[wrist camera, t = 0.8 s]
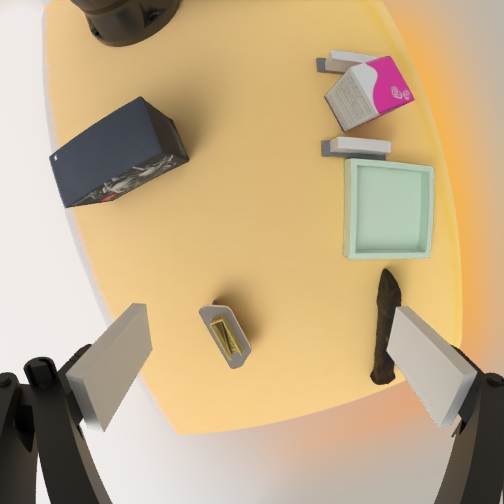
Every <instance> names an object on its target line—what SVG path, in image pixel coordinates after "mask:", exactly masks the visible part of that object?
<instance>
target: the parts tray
mask: <svg viewBox="0 0 504 504" xmlns="http://www.w3.org/2000/svg"><path fill="white" fill-rule="evenodd" d="M433 210H434V167H431V166H423V165H416V164H408V163H399V162H390V161H379V160H368V159H355V158H350V159H347V160H344V234H343V255H344V256H345V257H346V258H348V259H349V260H355V259H406V258H430V252H431V241H432V228H433Z"/></svg>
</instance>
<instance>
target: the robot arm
mask: <svg viewBox="0 0 504 504" xmlns="http://www.w3.org/2000/svg"><path fill="white" fill-rule="evenodd" d="M70 1H72V2H73V3H74V4H75V5H76V6H78V7H79V8H80V9H81V10H82V11H83V12H84V13H85V15H86V18H87V21H88V24H89V27H90V30H91V32H92V34H93V35H94V36H95V37H96V38H97V39H98V40H99V41H100V42H102V43H103V44H105V45H108V46H113V47H121V46H127V45H131V44H134V43H137V42H140V41H142V40H144V39H146V38H148V37H150V36H151V35H153V34H154V33H156V32H157V31H159V30H160V29H161V28H162V27H163V26H165V25H166V24H167V23H168V22H169V20H170V19H171V18H172V17H173V15H174V14H175V12H176V10H177V8H178V5H179V0H70ZM151 351H152V344H151V337H150V331H149V324H148V316H147V308H146V304H137V303H133V304H132V305H131V306H130V307H129V308H128V309H127V310H126V311H125V312H124V313H123V314H122V315H121V316H120V317H119V318H118V319H117V320H116V321H115V322H114V323H113V324H112V325H111V326H110V327H109V328H108V329H107V330H106V331H105V332H104V333H103V334H102V336H100V337H99V338H98V340H97V341H96V342H95V343H94V344H93V345H92V344H87V345H86V346H84V347H82V348H80V349H79V350H78V351H77V352H76V353H75V354H74V356H72V357H71V358H70V359H69V361H67V362H66V363H65V365H63V367H62V368H61V369H60V370H59V371H58V372H57V370H56V367H55V364H54V362H53V360H52V359H50V358H48V357H37V358H34V359H32V360H30V361H28V362H27V363H26V364H25V366H24V372H25V374H26V376H27V379H28V381H29V384H20V383H19V381H18V378H17V377H16V375H15V374H13V373H10V372H6V373H1V374H0V504H36V472H37V458H38V453H39V458H40V463H41V467H42V472H43V477H44V480H45V484H46V488H47V492H48V496H49V499H50V502H51V504H112V502H111V500H110V498H109V496H108V494H107V492H106V490H105V488H104V485H103V483H102V481H101V479H100V476H99V474H98V472H97V469H96V467H95V464H94V462H93V459H92V457H91V454H90V451H89V449H88V446H87V444H86V441H85V438H84V435H83V432H82V429H81V427H80V425H79V423H80V422H81V420H82V419H83V418H84V421H85V423H86V425H87V427H88V428H90V429H94V430H97V431H100V432H105V430H106V428H107V426H108V424H109V423H110V421H111V419H112V417H113V416H114V414H115V412H116V410H117V409H118V407H119V405H120V403H121V401H122V400H123V398H124V396H125V395H126V393H127V391H128V390H129V388H130V386H131V384H132V383H133V381H134V379H135V378H136V376H137V374H138V373H139V371H140V369H141V368H142V366H143V364H144V363H145V361H146V359H147V358H148V356H149V354H150V353H151ZM387 352H388V354H389V355H390V356H391V358H392V359H393V361H394V362H395V364H396V365H397V366H398V368H399V369H400V371H401V372H402V374H403V375H404V377H405V378H406V380H407V381H408V382H409V384H410V385H411V387H412V388H413V390H414V391H415V393H416V394H417V396H418V397H419V399H420V400H421V402H422V403H423V405H424V406H425V408H426V410H427V411H428V413H429V414H430V416H431V417H432V419H433V420H434V422H435V423H436V425H437V427H438V428H442V427H444V426H448V425H451V424H452V423H453V422H454V420H455V418H456V416H457V414H459V415H460V417H461V418H462V419H461V421H460V423H459V424H458V426H457V428H456V430H455V431H454V433H453V434H452V436H451V437H454V435H455V434H456V437H455V441H454V445H453V449H452V452H451V456H450V459H449V463H448V466H447V469H446V472H445V476H444V478H443V481H442V484H441V487H440V490H439V492H438V495H437V497H436V500H435V503H434V504H499V503H500V497H501V492H502V490H503V504H504V378H503V377H502V376H500V375H499V374H495V373H486V374H484V373H483V372H482V371H481V370H480V369H479V368H478V367H477V366H476V365H475V364H474V363H473V362H472V361H471V360H470V359H469V358H468V357H467V356H465V354H464V353H463V352H462V351H461V350H460V349H458V348H456V347H454V346H453V345H450V344H449V343H447V342H446V341H445V340H444V339H443V338H442V337H441V336H440V335H439V334H438V333H437V332H436V331H435V330H434V329H433V328H431V327H430V326H429V325H428V324H427V323H426V322H425V321H424V320H423V319H422V318H421V317H419V316H418V315H417V314H416V313H415V312H414V311H413V310H412V309H411V308H409V307H408V306H402V307H396V310H395V315H394V320H393V325H392V330H391V334H390V338H389V343H388V347H387Z"/></svg>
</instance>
